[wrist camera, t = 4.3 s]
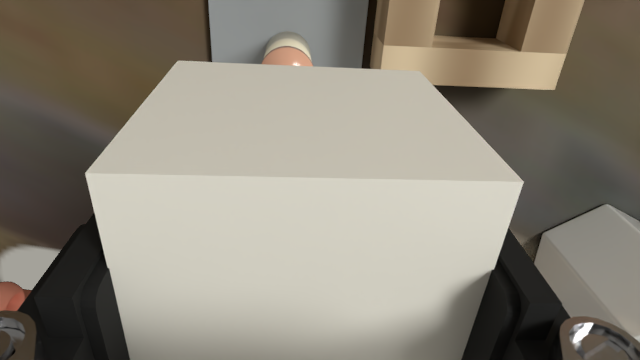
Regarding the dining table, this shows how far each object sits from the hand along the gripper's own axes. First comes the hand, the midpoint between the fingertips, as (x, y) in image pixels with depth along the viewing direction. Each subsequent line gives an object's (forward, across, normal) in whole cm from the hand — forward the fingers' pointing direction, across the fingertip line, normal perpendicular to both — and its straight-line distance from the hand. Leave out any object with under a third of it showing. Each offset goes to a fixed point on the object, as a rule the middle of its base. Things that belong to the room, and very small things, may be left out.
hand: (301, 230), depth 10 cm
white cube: (+3, 0, 0) cm, 3 cm away
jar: (+16, -22, +13) cm, 30 cm away
